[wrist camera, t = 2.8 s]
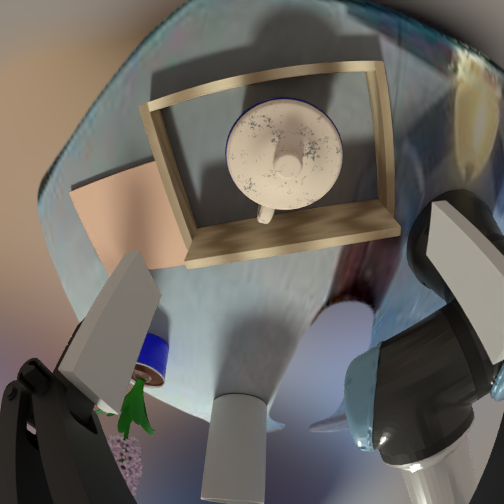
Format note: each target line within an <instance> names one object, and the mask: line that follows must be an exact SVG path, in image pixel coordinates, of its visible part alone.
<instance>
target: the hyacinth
mask: <svg viewBox="0 0 504 504" xmlns="http://www.w3.org/2000/svg"><path fill="white" fill-rule="evenodd" d="M168 352H169V346H168V344H167V343H166V342H165V341H164V340H163V339H161V338H160V337H158V336H156V335H153V334H146V337H145V340H144V343H143V345H142V348H141V351H140V354H139V356H138V359H137V362H136V365H135V368H134V371H133V374H132V376H131V379H130V381H132V382H134V383H135V385H134V386H133V388H132V390H131V391H130V392H129V393H128V394H127V395H126V396H125V398H124V401H123V404H122V407H121V410H120V412H121V411H122V410H123V411H122V413H121V415H120V418H119V421H118V431H119V433H123V432H124V437H121V438H120V437H119V435H117V438H116V437H115V436H114V437H113V438H114V439H115V440H113V438H110V437H111V436H110V437H109V438H108V437H107V439H108V440H107V442H108V444H109V445H110V446H111V445H112V447H113V448H112V447H110V446H109V447H110V449H111V452H112V454H113V456H114V455H115V456H116V454H117V456H116V457H117V458H115V461H116V463H117V465H118V467H119V469H120V472H121V474H122V476H123V478H124V480H125V482H126V484H127V486H128V488H129V490H130V491H131V493H132V495H136V493H134V491H135V490H136V488H135V486H136V484H139V483H140V482H138V481H139V480H138V481H137V478H138V477H139V475H140V476H141V474H142V471H140V470H141V469H142V464H141V463H140V462H141V459H140V458H141V456H140V452H141V451H142V450H139V449H140V448H141V446H140V445H139V442H138V440H137V439H135V437H134V436H133V438H132V437H130V438H131V440H130V441H128V434H129V428H130V423H131V422H132V420H133V421H134V422H135V423H136V424H138V425H140V424H141V426H142V427H143V429H144V430H145V431H146V432H147V433H149V434H151V435H153V431H154V430H153V429H152V428H151V426H150V424H149V421H148V418H147V413H146V408H145V403H144V396H143V387H148V388H160V387H162V386H163V385H164V384H165V373H166V365H167V358H168ZM95 412H96V414H101V413H106V412H104V411H102V410H101V409H100V410H97V411H95ZM112 415H115V414H113V413H108V414H107V416H112ZM122 439H123V440H122ZM134 439H135V440H134ZM135 442H137V443H135ZM114 445H115V446H114ZM116 446H117V447H116ZM137 456H138V457H139V459H138V460H136V459H135V458H137ZM119 458H120V459H119ZM135 465H136V466H135ZM130 466H131V467H130ZM132 466H135V467H132ZM139 466H140V467H139ZM137 467H138V468H137ZM127 468H128V469H127ZM138 474H139V475H138ZM134 479H135V480H134ZM131 486H133V487H134V488H132V487H131Z"/></svg>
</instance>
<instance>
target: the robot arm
mask: <svg viewBox="0 0 504 504" xmlns="http://www.w3.org/2000/svg"><path fill="white" fill-rule="evenodd" d="M407 260H408V263H409V266H410V268H411V270H412V271H413V273H414V274H415V276H416V278H417V279H418V280H419V281H420V282H421V283H422V284H423V285H424V286H426V287H427V288H429V289H432V290H433V291H434V292H435V293H436V294H437V295H439V296H440V297H441V298H442V299H444V300H445V301H446V303H447V305H445V306H444V307H442V308H441V309H439V310H437V311H436V312H434V313H432V314H431V315H429V316H428V317H426V318H424V319H423V320H421V321H419V322H418V323H416V324H414V325H413V326H411V327H409V328H408V329H406V330H404V331H402V332H401V333H399V334H397V335H395V336H393V337H392V338H390V339H388V340H386V341H382V342H379V343H378V344H377V346H375V347H374V348H372V349H370V350H368V351H367V352H365V353H363V354H361V355H359V356H358V357H356V358H355V359H354V360H353V361H352V362H351V363H350V365H349V367H348V369H347V372H346V376H345V390H344V398H345V409H346V415H347V420H348V425H349V428H350V432H351V435H352V437H353V440H354V442H355V443H356V445H357V446H359V449H361V450H362V451H374V450H375V449H376V448H377V449H379V451H380V454H381V457H382V459H383V461H384V463H385V464H386V465H388V466H392V467H397V468H400V469H401V472H402V475H403V478H404V481H405V484H406V487H407V490H408V493H409V496H410V499H411V502H412V504H504V413H503V417H502V421H501V424H500V428H499V431H498V434H497V438H496V440H495V443H494V446H493V449H492V452H491V455H490V458H489V460H488V463H487V465H486V468H485V470H484V473H483V475H482V477H481V479H480V482H479V484H477V478H476V473H475V468H474V463H473V458H472V454H471V450H470V446H469V442H468V438H467V433H468V432H469V430H470V428H471V426H472V425H473V422H474V418H475V416H474V412H473V408H472V405H471V404H472V403H474V402H476V401H477V400H479V399H480V398H482V397H483V396H485V395H486V394H488V393H490V395H491V397H492V398H493V399H495V401H501V400H503V399H504V235H503V234H502V232H501V230H500V229H499V227H498V225H497V223H496V221H495V220H494V218H493V216H492V213H491V212H490V210H489V208H488V206H487V205H486V204H485V203H484V202H483V201H482V200H481V199H480V198H478V197H477V196H476V195H474V194H473V193H471V192H469V191H465V190H453V191H449V192H446V193H444V194H442V195H440V196H439V197H437V198H436V199H434V200H433V201H432V202H431V203H429V204H428V205H427V206H426V207H425V209H424V210H423V211H422V212H421V214H420V215H419V216H418V218H417V220H416V221H415V223H414V225H413V227H412V229H411V232H410V235H409V238H408V243H407ZM161 296H162V295H161V293H160V291H159V290H158V288H157V286H156V284H155V282H154V280H153V278H152V276H151V274H150V272H149V270H148V268H147V266H146V264H145V262H144V259H143V257H142V255H141V253H140V251H139V250H137V251H132V252H127V253H125V255H124V256H123V258H122V259H121V261H120V262H119V264H118V265H117V267H116V268H115V270H114V271H113V273H112V274H111V276H110V277H109V279H108V281H107V282H106V284H105V285H104V287H103V289H102V290H101V292H100V293H99V295H98V297H97V298H96V300H95V302H94V303H93V305H92V307H91V308H90V310H89V312H88V314H87V315H86V317H85V318H84V319H83V320H82V321H81V322H80V324H79V325H78V326H77V328H76V329H75V331H74V333H73V335H72V337H71V338H70V340H69V342H68V345H67V346H66V348H65V350H64V352H63V353H62V356H61V357H60V359H59V361H58V363H57V365H56V367H55V369H54V371H53V373H52V372H51V371H50V370H49V369H48V368H47V367H46V366H45V365H44V364H43V363H42V362H41V361H40V360H39V359H37V358H32V359H29V360H28V361H27V362H25V363H24V364H23V366H22V367H21V368H20V370H19V373H18V376H17V380H16V381H12V382H11V383H9V384H8V385H7V386H6V389H5V390H4V394H3V398H2V403H1V411H0V504H137V503H136V501H135V499H134V497H133V495H132V493H131V491H130V490H129V488H128V486H127V484H126V482H125V480H124V478H123V476H122V474H121V472H120V469H119V467H118V465H117V463H116V461H115V459H114V456H113V454H112V452H111V449H110V447H109V444H108V442H107V439H106V437H105V434H104V432H103V429H102V426H101V424H100V421H99V418H98V415H97V414H96V412H95V411H94V410H93V408H94V405H96V406H98V407H99V408H100V409H101V410H102V411H104V412H108V413H113V414H120V410H121V407H122V404H123V401H124V398H125V395H126V391H127V388H128V385H129V382H130V379H131V376H132V374H133V371H134V368H135V365H136V362H137V359H138V356H139V354H140V351H141V348H142V345H143V343H144V340H145V337H146V334H147V332H148V329H149V327H150V324H151V321H152V319H153V316H154V314H155V311H156V308H157V306H158V303H159V301H160V298H161ZM27 423H28V424H29V425H31V426H32V427H33V428H35V429H36V435H34V434H32V433H31V432H30V431H28V430H27Z"/></svg>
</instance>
